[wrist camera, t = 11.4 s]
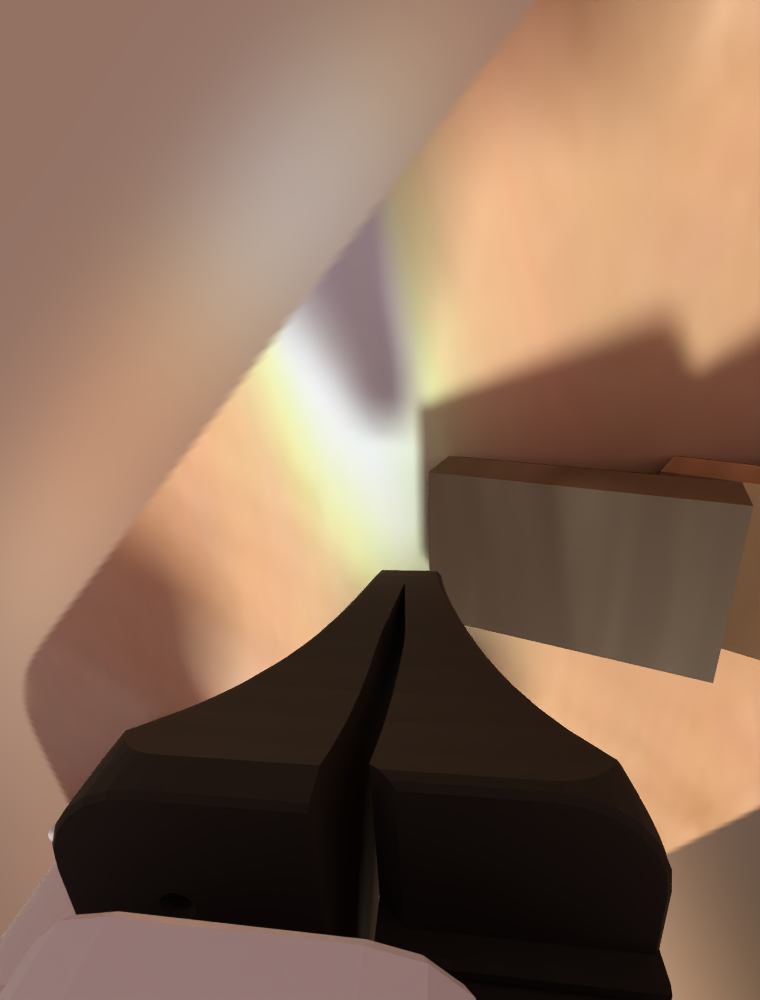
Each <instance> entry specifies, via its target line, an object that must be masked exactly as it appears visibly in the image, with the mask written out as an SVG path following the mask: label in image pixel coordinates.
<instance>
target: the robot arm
mask: <svg viewBox="0 0 760 1000" xmlns="http://www.w3.org/2000/svg"><path fill="white" fill-rule="evenodd" d="M48 835H49V838H50V840H51V841H52V842H53V843H52V844H53V850H54V854H55V859H56V861H55V862H54V864H53V865H52V867H51V868H50V869H49V871H48V872H47V874H46V875H45V876H44V878H43V879H42V881H41V882H40V883H39V885H38V886H37V888H36V889H35V891H34V892H33V894H32V895H31V896H30V898H29V899H28V900H27V902H26V903H25V905H24V906H23V907H22V909H21V911H20V912H19V913H18V914H17V916H16V917H15V919H14V920H13V922H12V923H11V925H10V926H9V927H8V929H7V930H6V931H5V933H4V934H3V936H2V937H1V938H0V1000H671V999H672V990H671V984H670V981H669V978H668V975H667V972H666V969H665V966H664V962H663V959H662V956H661V953H660V950H659V947H660V942H661V938H662V933H663V929H664V924H665V920H666V915H667V911H668V906H669V902H670V897H671V892H672V869H671V867H670V864H669V861H668V859H667V855H666V852H665V849H664V846H663V844H662V841H661V839H660V836H659V834H658V832H657V830H656V827H655V825H654V823H653V821H652V819H651V817H650V815H649V813H648V811H647V810H646V808H645V806H644V804H643V802H642V800H641V799H640V797H639V795H638V793H637V791H636V790H635V788H634V786H633V784H632V783H631V781H630V779H629V778H628V776H627V774H626V773H625V771H624V769H623V768H622V766H621V764H620V763H619V762H618V761H617V760H616V759H615V758H613V757H611V756H610V755H608V754H606V753H605V752H603V751H602V750H600V749H598V748H597V747H595V746H593V745H592V744H590V743H589V742H587V741H585V740H584V739H582V738H581V737H579V736H577V735H576V734H574V733H572V732H571V731H569V730H568V729H566V728H565V727H563V726H562V725H561V724H559V723H558V722H557V721H555V720H554V719H553V718H551V717H550V716H549V715H547V714H546V713H545V712H543V711H542V710H540V709H539V708H538V707H537V706H536V705H534V704H533V703H532V702H531V701H530V700H529V699H528V698H526V697H525V696H524V695H523V694H522V693H521V692H520V691H519V690H517V689H516V688H515V687H514V686H513V685H512V684H511V683H510V682H509V681H508V680H507V679H506V678H505V677H504V676H503V675H502V674H501V673H500V672H499V671H498V669H497V668H496V667H495V666H494V665H493V664H492V663H491V662H490V660H489V659H488V658H487V657H486V656H485V654H484V653H483V652H482V651H481V649H480V648H479V647H478V645H477V644H476V643H475V641H474V640H473V638H472V637H471V635H470V634H469V633H468V631H467V630H466V628H465V626H464V625H463V623H462V622H461V620H460V618H459V616H458V615H457V613H456V611H455V609H454V608H453V606H452V604H451V602H450V600H449V598H448V595H447V593H446V591H445V588H444V585H443V582H442V576H441V575H440V574H439V573H438V572H437V571H400V570H382V571H381V572H380V573H379V574H378V575H377V576H376V577H375V578H374V579H373V580H372V581H371V582H370V583H369V584H368V586H367V587H366V588H365V589H364V590H363V591H362V592H361V593H360V594H359V595H358V596H357V598H356V599H355V600H354V601H353V602H352V603H351V604H350V605H349V606H348V607H347V608H346V609H345V610H344V611H343V612H342V613H341V614H340V615H339V616H338V617H337V618H335V619H334V620H333V621H332V622H331V623H330V624H329V625H328V626H326V627H325V628H324V629H323V630H322V631H321V632H320V633H319V634H317V635H316V636H315V637H314V638H312V639H311V640H310V641H308V642H307V643H306V644H305V645H303V646H302V647H300V648H299V649H297V650H296V651H295V652H293V653H292V654H290V655H289V656H287V657H286V658H284V659H283V660H281V661H280V662H278V663H276V664H275V665H273V666H271V667H270V668H268V669H266V670H264V671H263V672H261V673H259V674H257V675H256V676H254V677H252V678H251V679H249V680H247V681H245V682H244V683H242V684H240V685H238V686H236V687H234V688H232V689H230V690H228V691H226V692H223V693H221V694H219V695H217V696H215V697H213V698H210V699H208V700H206V701H204V702H201V703H199V704H197V705H194V706H192V707H190V708H187V709H185V710H182V711H179V712H177V713H174V714H171V715H169V716H166V717H163V718H160V719H158V720H155V721H152V722H149V723H147V724H144V725H141V726H138V727H135V728H132V729H129V730H126V731H125V732H124V734H123V735H122V736H121V737H120V738H119V740H118V741H117V742H116V743H115V745H114V746H113V747H112V748H111V750H110V751H109V752H108V753H107V755H106V756H105V757H104V758H103V760H102V761H101V762H100V764H99V765H98V766H97V768H96V769H95V770H94V772H93V773H92V774H91V776H90V777H89V778H88V780H87V781H86V782H85V784H84V785H83V786H82V788H81V789H80V790H79V792H78V793H77V794H76V796H75V797H74V798H73V800H72V801H71V802H70V804H69V805H68V806H67V808H66V809H65V811H64V812H63V814H62V815H61V817H60V818H59V820H58V821H57V822H56V823H55V824H54V825H53V826H52V828H51V829H50V830H49V832H48ZM379 894H380V897H379Z"/></svg>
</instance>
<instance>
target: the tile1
mask: <svg viewBox="0 0 760 1000" xmlns="http://www.w3.org/2000/svg"><path fill="white" fill-rule="evenodd" d="M752 511H753V504H752V502H751V500H750V498H749V496H748V493H747V491H746V489H745V487H744V485H743V483H742V482H735V481H724V480H713V479H701V478H690V477H679V476H667V475H656V474H645V473H634V472H622V471H611V470H600V469H588V468H577V467H566V466H554V465H543V464H532V463H520V462H509V461H498V460H486V459H475V458H464V457H453V456H449V457H447V458H446V459H445V460H444V461H442V462H441V463H440V464H439V465H437V466H436V467H435V468H433V469H432V470H431V471H430V472H429V561H430V571H437V572H438V573H439V574H440V575H441V576H442V582H443V585H444V588H445V591H446V593H447V595H448V598H449V600H450V602H451V604H452V606H453V608H454V609H455V611H456V613H457V615H458V616H459V618H460V620H461V622H462V623H463V625H467V626H471V627H476V628H480V629H484V630H488V631H493V632H497V633H501V634H506V635H510V636H514V637H518V638H523V639H527V640H531V641H536V642H540V643H544V644H548V645H553V646H557V647H561V648H565V649H570V650H574V651H578V652H583V653H587V654H591V655H595V656H600V657H604V658H608V659H613V660H617V661H621V662H625V663H630V664H634V665H638V666H642V667H647V668H651V669H655V670H660V671H664V672H668V673H672V674H677V675H681V676H685V677H689V678H694V679H698V680H702V681H707V682H711V683H713V681H714V676H715V672H716V668H717V663H718V659H719V654H720V650H721V646H722V641H723V637H724V633H725V628H726V624H727V620H728V615H729V611H730V606H731V602H732V598H733V593H734V589H735V585H736V580H737V576H738V572H739V567H740V563H741V559H742V554H743V550H744V545H745V541H746V537H747V532H748V528H749V524H750V519H751V515H752Z"/></svg>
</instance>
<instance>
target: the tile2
mask: <svg viewBox="0 0 760 1000" xmlns="http://www.w3.org/2000/svg"><path fill="white" fill-rule="evenodd" d="M660 475H667V476H679V477H690V478H701V479H713V480H724V481H735V482H742V483H743V485H744V487H745V489H746V491H747V493H748V496H749V498H750V500H751V502H752V504H753V511H752V515H751V519H750V524H749V528H748V532H747V537H746V541H745V545H744V550H743V554H742V559H741V563H740V567H739V572H738V576H737V580H736V585H735V589H734V593H733V598H732V602H731V606H730V611H729V615H728V620H727V624H726V628H725V633H724V637H723V641H722V646H721V648H722V649H725V650H728V651H732V652H735V653H738V654H742V655H745V656H748V657H751V658H755V659H758V660H760V466H757V465H748V464H740V463H731V462H723V461H714V460H705V459H697V458H688V457H679V456H674V457H673V458H672V459H671V460H670V461H669V462H668V463H667V464H666V465H665V466H664V467H663V469H662V470H661V471H660Z"/></svg>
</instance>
